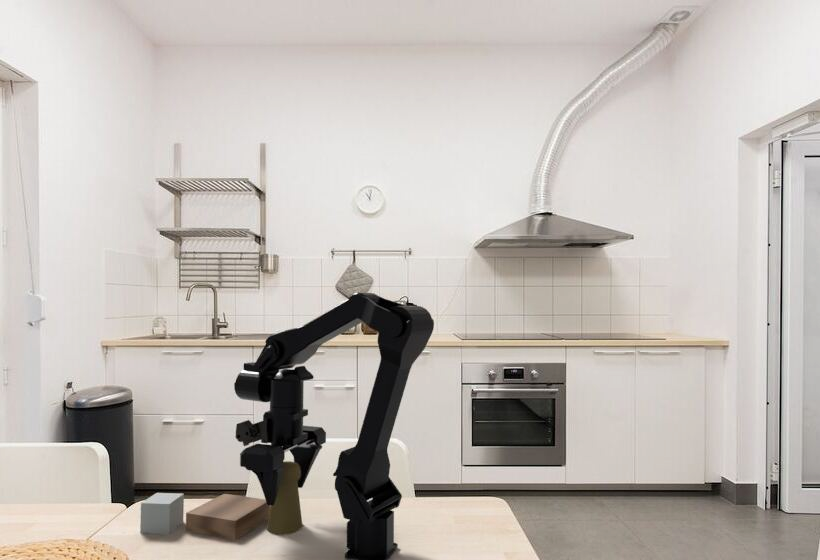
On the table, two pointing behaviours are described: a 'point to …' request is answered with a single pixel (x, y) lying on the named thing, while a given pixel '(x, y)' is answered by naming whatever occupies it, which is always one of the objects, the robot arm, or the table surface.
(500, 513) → the table surface
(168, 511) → the slate cube
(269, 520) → the olive game pawn
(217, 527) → the walnut block
